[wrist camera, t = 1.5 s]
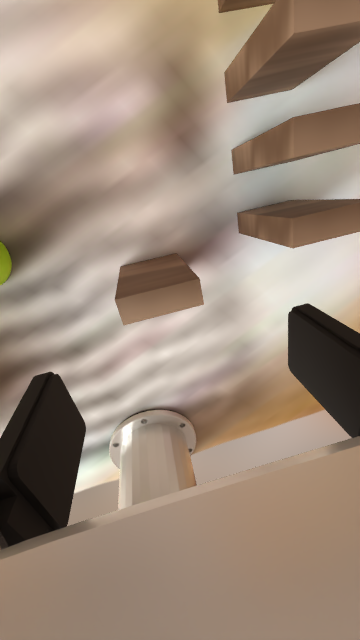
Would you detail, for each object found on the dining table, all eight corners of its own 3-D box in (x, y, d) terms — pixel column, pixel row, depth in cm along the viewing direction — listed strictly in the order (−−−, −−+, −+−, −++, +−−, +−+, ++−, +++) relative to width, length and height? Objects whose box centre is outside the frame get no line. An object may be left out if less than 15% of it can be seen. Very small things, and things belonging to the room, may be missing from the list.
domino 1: (180, 271, 27) (204, 304, 18) (126, 284, 27) (123, 325, 18) (176, 253, 26) (199, 278, 18) (120, 266, 26) (114, 300, 17)
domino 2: (291, 89, 22) (399, 13, 13) (227, 102, 22) (293, 33, 13) (291, 59, 21) (407, -44, 12) (224, 72, 21) (294, -25, 12)
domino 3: (291, 161, 25) (383, 137, 16) (233, 174, 24) (293, 157, 15) (291, 137, 24) (388, 97, 15) (231, 150, 23) (293, 117, 14)
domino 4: (291, 220, 27) (370, 228, 18) (238, 233, 27) (293, 248, 18) (291, 200, 26) (374, 198, 17) (237, 213, 26) (293, 218, 17)
